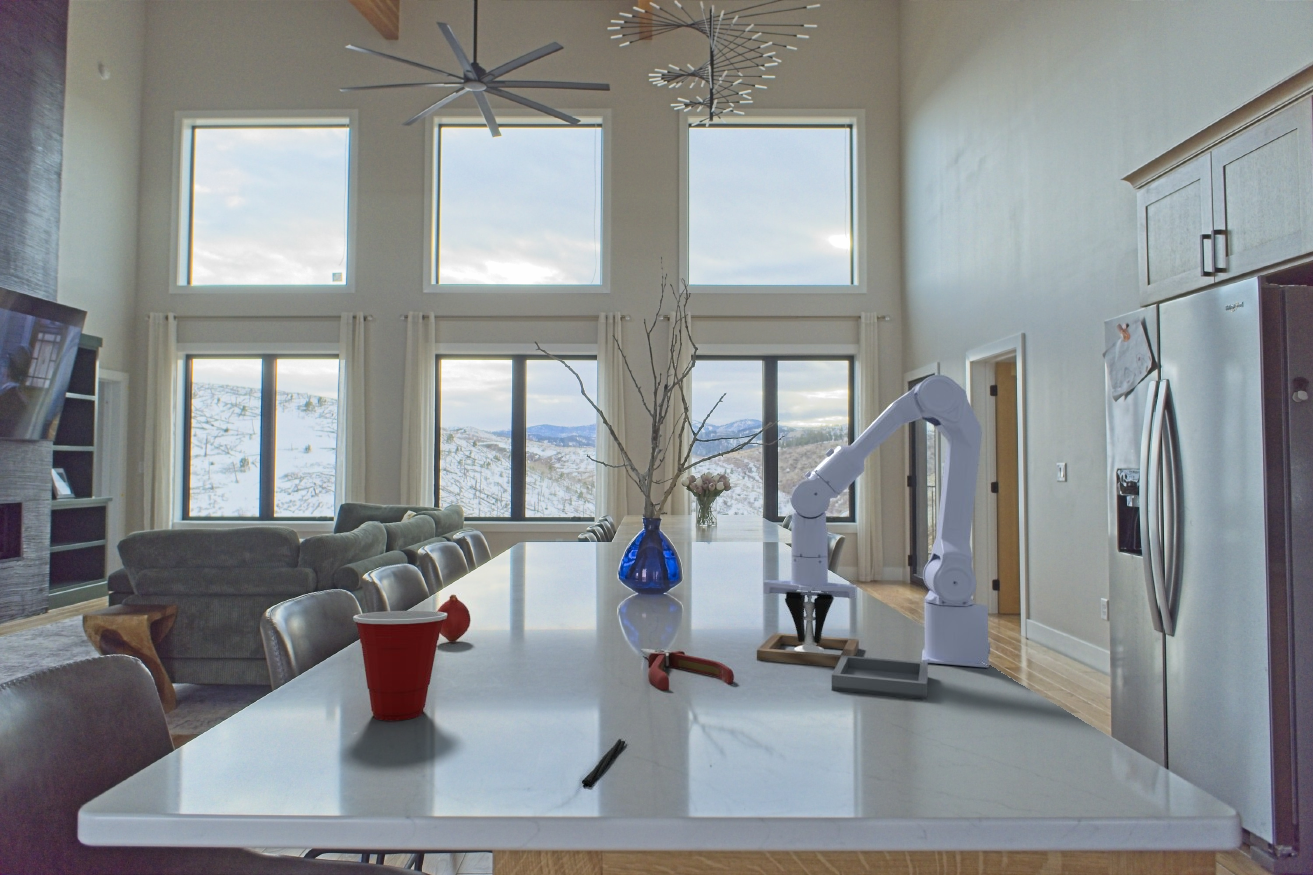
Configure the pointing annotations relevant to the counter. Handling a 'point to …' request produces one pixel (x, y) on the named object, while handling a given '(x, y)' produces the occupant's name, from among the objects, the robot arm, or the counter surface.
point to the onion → (454, 619)
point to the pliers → (682, 666)
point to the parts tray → (881, 677)
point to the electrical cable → (603, 763)
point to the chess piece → (809, 630)
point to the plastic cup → (398, 659)
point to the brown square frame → (772, 654)
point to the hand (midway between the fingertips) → (809, 641)
